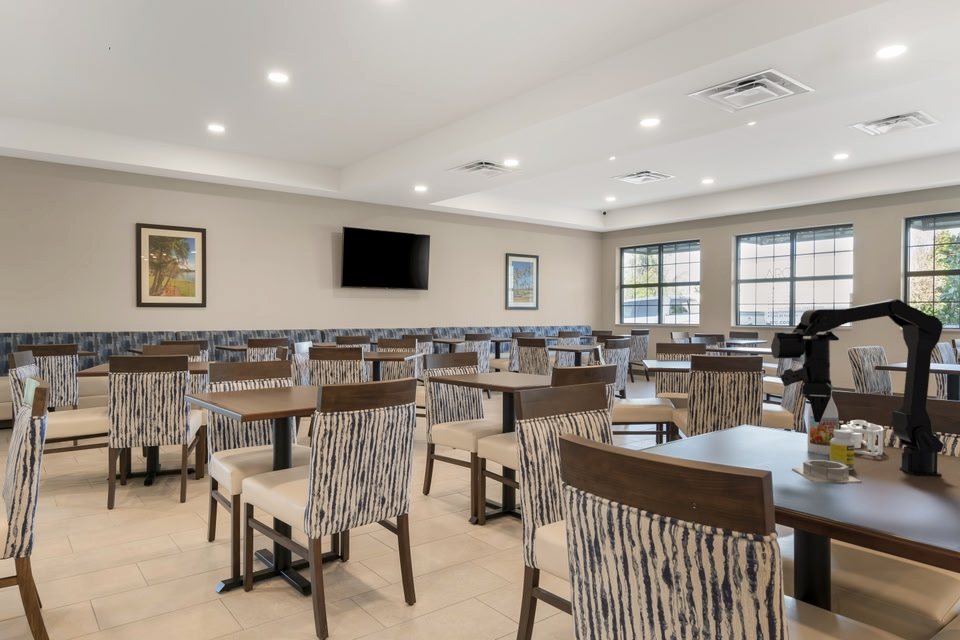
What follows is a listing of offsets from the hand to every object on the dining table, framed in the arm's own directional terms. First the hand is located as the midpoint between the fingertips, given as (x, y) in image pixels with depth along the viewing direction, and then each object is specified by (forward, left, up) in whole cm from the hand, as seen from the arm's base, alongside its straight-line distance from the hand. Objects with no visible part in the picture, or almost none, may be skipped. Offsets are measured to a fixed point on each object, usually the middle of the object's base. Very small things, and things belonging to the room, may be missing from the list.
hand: (817, 419), depth 154 cm
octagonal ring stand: (+1, +7, -13) cm, 15 cm away
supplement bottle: (-8, -3, -13) cm, 16 cm away
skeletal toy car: (-26, -28, -14) cm, 40 cm away
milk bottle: (-12, -21, -13) cm, 27 cm away
